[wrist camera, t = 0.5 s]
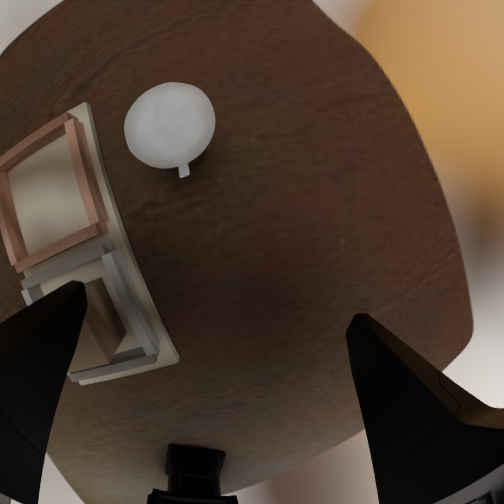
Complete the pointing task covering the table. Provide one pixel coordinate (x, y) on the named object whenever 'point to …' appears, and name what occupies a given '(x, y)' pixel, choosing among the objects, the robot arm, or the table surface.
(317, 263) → the table surface
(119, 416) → the table surface
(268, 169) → the table surface
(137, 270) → the grey-brown divided tray
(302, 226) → the table surface
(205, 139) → the milkshake
